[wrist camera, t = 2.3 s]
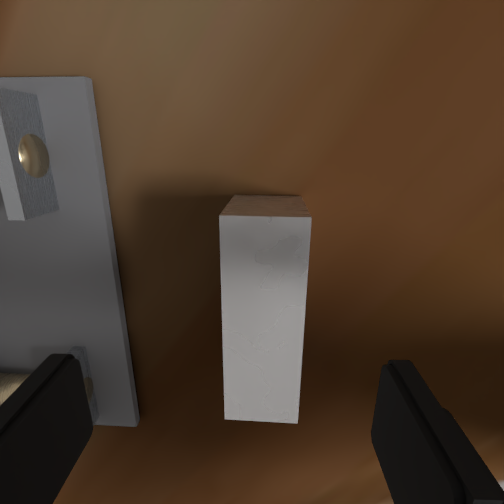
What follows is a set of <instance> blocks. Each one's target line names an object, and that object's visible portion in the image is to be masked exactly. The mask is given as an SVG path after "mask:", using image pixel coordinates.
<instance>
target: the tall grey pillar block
mask: <svg viewBox="0 0 504 504" xmlns="http://www.w3.org/2000/svg"><path fill="white" fill-rule="evenodd" d="M311 218H312V217H311V215H310V213H309V211H308V209H307V207H306V205H305V203H304V201H303V199H302V197H301V196H269V195H234V196H233V197H232V199H231V200H230V201H229V203H228V204H227V206H226V207H225V208H224V210H223V211H222V212H221V214H220V215H219V229H220V266H221V303H222V339H223V376H224V413H225V419H228V420H245V421H263V422H280V423H297V424H298V412H299V397H300V382H301V367H302V353H303V338H304V323H305V308H306V293H307V278H308V263H309V248H310V233H311Z"/></svg>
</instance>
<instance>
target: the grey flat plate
mask: <svg viewBox="0 0 504 504" xmlns="http://www.w3.org/2000/svg"><path fill="white" fill-rule="evenodd" d="M0 88H5V89H10V90H15V91H20V92H25V93H30V94H36V95H37V96H38V102H39V107H40V112H41V117H42V122H43V127H44V133H45V138H46V143H47V148H48V153H49V158H50V164H51V169H52V174H53V179H54V184H55V190H56V195H57V200H58V205H59V210H56V211H53V212H50V213H47V214H44V215H41V216H38V217H35V218H31V219H28V220H25V221H23V220H8V217H7V213H6V209H5V205H4V200H3V196H2V192H1V188H0V373H16V374H31V373H32V372H33V371H34V370H35V369H36V368H37V367H38V366H39V365H40V364H41V363H42V362H43V361H44V360H45V359H46V358H47V357H48V356H49V355H51V354H53V353H56V354H66V353H67V352H68V351H69V350H70V349H71V348H72V347H73V346H86V350H87V355H88V360H89V365H90V370H91V376H92V381H93V386H94V391H95V396H96V401H97V407H98V412H99V418H98V419H97V421H96V422H95V424H94V425H110V426H128V427H137V425H138V423H139V421H140V417H139V410H138V403H137V396H136V389H135V382H134V375H133V368H132V361H131V354H130V347H129V340H128V332H127V325H126V318H125V311H124V304H123V297H122V290H121V283H120V276H119V269H118V262H117V255H116V248H115V241H114V234H113V227H112V220H111V213H110V206H109V199H108V192H107V185H106V178H105V171H104V164H103V157H102V149H101V142H100V135H99V128H98V121H97V114H96V107H95V100H94V93H93V86H92V79H90V78H87V77H0Z"/></svg>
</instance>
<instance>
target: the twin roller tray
mask: <svg viewBox="0 0 504 504" xmlns="http://www.w3.org/2000/svg"><path fill="white" fill-rule="evenodd" d="M0 188H1V192H2V196H3V200H4V205H5V209H6V213H7V217H8V220H23V221H25V220H28V219H31V218H35V217H38V216H41V215H44V214H47V213H50V212H53V211H56V210H59V205H58V200H57V195H56V190H55V184H54V179H53V174H52V169H51V164H50V158H49V153H48V148H47V143H46V138H45V133H44V127H43V122H42V117H41V112H40V107H39V102H38V96H37V95H36V94H30V93H25V92H20V91H15V90H10V89H5V88H0ZM66 354H73V355H74V357H75V359H78V360H79V362H80V366H81V370H82V375H83V380H84V384H85V389H86V394H87V398H88V403H89V408H90V412H91V417H92V422H93V426H94V424H95V422H96V421H97V419H98V418H99V412H98V407H97V401H96V396H95V391H94V386H93V381H92V376H91V370H90V365H89V360H88V355H87V350H86V346H73V347H72V348H71V349H70V350H69V351H68V352H67V353H66ZM30 375H31V374H16V373H0V405H1V404H2V403H3V402H4V401H5V400H6V399H7V398H8V397H9V396H10V395H11V394H12V393H13V392H14V391H15V390H16V389H17V388H18V387H19V386H20V385H21V384H22V383H23V382H24V381H25V380H26V379H27V378H28V377H29V376H30Z"/></svg>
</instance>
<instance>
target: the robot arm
mask: <svg viewBox="0 0 504 504" xmlns="http://www.w3.org/2000/svg"><path fill="white" fill-rule="evenodd" d="M92 431H93V422H92V417H91V412H90V408H89V403H88V398H87V394H86V389H85V384H84V380H83V375H82V370H81V366H80V362H79V360H78V359H75V357H74V355H73V354H56V353H53V354H51V355H49V356H48V357H47V358H46V359H45V360H44V361H43V362H42V363H41V364H40V365H39V366H38V367H37V368H36V369H35V370H34V371H33V372H32V373H31V375H30V376H29V377H28V378H27V379H26V380H25V381H24V382H23V383H22V384H21V385H20V386H19V387H18V388H17V389H16V390H15V391H14V392H13V393H12V394H11V395H10V396H9V397H8V398H7V399H6V400H5V401H4V402H3V403H2V404H1V405H0V504H53V502H54V500H55V498H56V497H57V495H58V493H59V491H60V490H61V488H62V486H63V484H64V483H65V481H66V479H67V477H68V476H69V474H70V472H71V470H72V469H73V467H74V465H75V463H76V462H77V460H78V458H79V456H80V455H81V453H82V451H83V449H84V448H85V446H86V444H87V442H88V441H89V439H90V437H91V434H92ZM371 437H372V443H373V446H374V449H375V452H376V454H377V457H378V460H379V463H380V466H381V468H382V471H383V474H384V477H385V479H386V482H387V485H388V488H389V490H390V493H391V496H392V499H393V502H394V504H504V491H503V489H502V488H501V487H500V485H499V484H498V482H497V481H496V479H495V478H494V476H493V475H492V473H491V472H490V470H489V469H488V467H487V466H486V464H485V463H484V462H483V460H482V459H481V457H480V456H479V454H478V453H477V451H476V450H475V448H474V447H473V445H472V444H471V443H470V441H469V440H468V438H467V437H466V435H465V434H464V432H463V431H462V429H461V428H460V426H459V425H458V423H457V422H456V421H455V419H454V418H453V416H452V415H451V414H450V412H449V411H448V410H446V409H445V408H442V407H441V405H440V404H439V402H438V401H437V399H436V398H435V396H434V395H433V393H432V392H431V390H430V389H429V387H428V386H427V384H426V383H425V381H424V380H423V378H422V377H421V375H420V374H419V372H418V371H417V369H416V368H415V366H414V365H413V363H412V362H411V361H409V360H389V361H388V364H387V365H383V366H382V369H381V375H380V381H379V387H378V393H377V399H376V405H375V411H374V418H373V424H372V430H371Z"/></svg>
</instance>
